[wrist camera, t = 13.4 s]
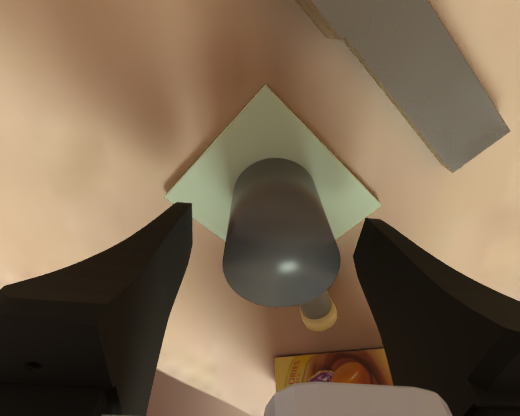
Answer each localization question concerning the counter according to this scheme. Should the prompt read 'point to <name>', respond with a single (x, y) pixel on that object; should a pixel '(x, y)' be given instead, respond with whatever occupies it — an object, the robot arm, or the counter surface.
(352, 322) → the counter surface
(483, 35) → the counter surface
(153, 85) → the counter surface
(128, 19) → the counter surface
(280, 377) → the candy box
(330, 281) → the grey tapered rounded piece
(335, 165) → the plate
